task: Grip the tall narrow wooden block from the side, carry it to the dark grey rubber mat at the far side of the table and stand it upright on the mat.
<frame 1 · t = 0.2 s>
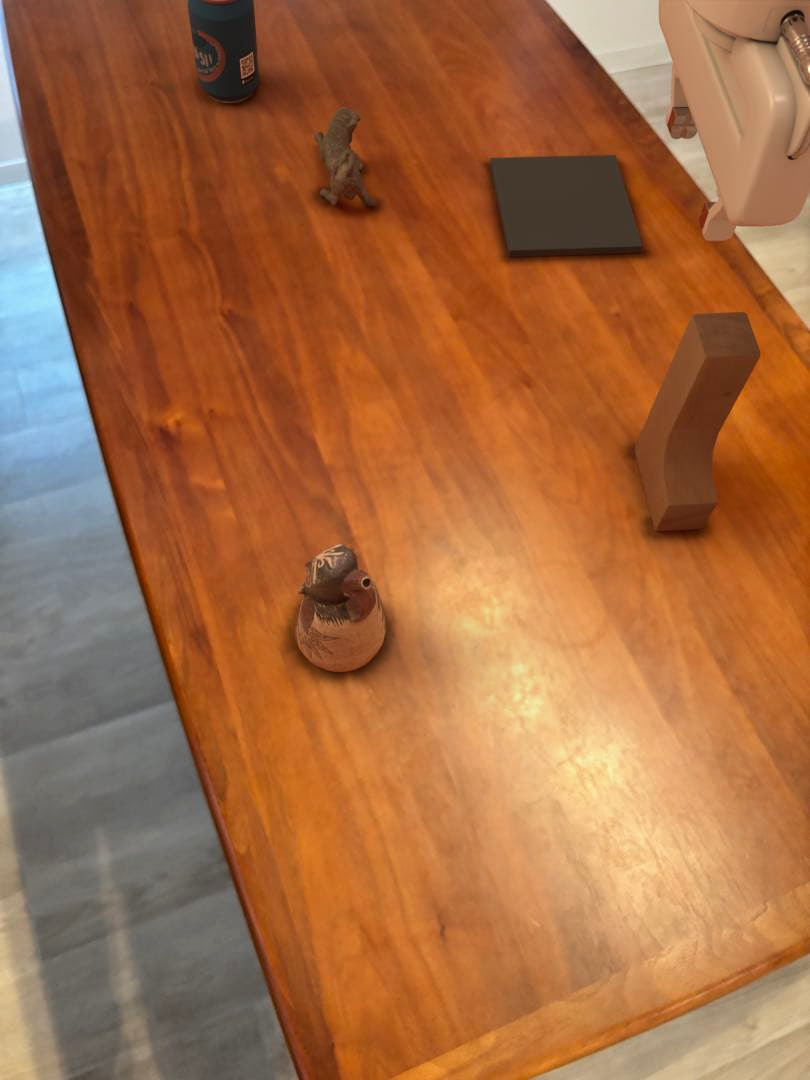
hand: (695, 180, 64), 31 cm above the table, tool pointing down, fingers open, 8 cm apart
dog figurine: (344, 182, 108), on the table
mat: (563, 208, 107), on the table
soda can: (230, 88, 115), on the table
wooden block: (666, 490, 90), on the table
figurine: (341, 634, 81), on the table
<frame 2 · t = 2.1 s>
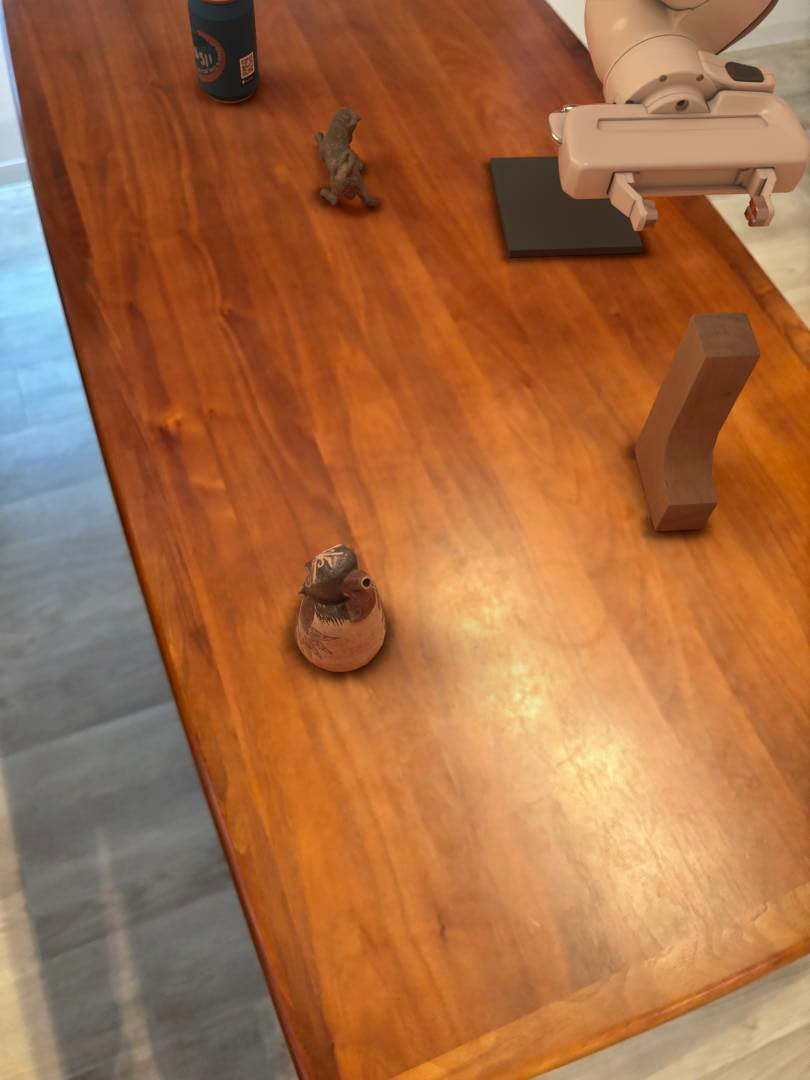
hand: (705, 222, 78), 20 cm above the table, tool horizontal, fingers open, 8 cm apart
nothing on the table moved.
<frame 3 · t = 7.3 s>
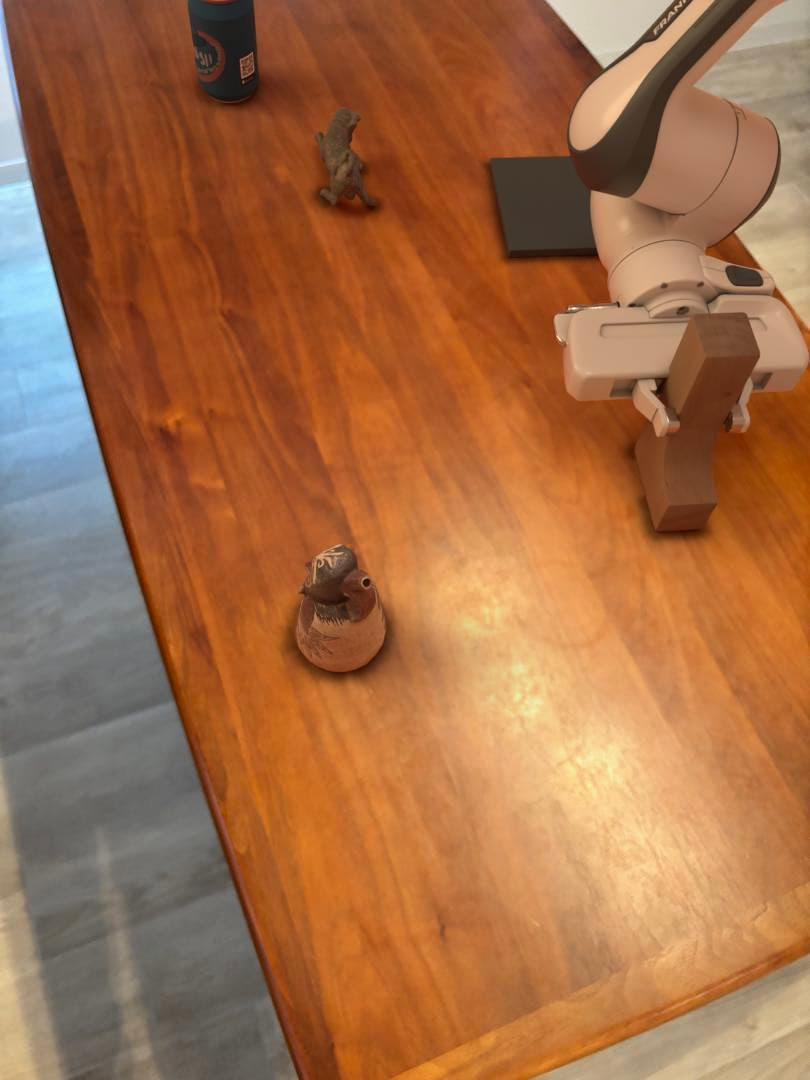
hand: (704, 430, 81), 10 cm above the table, tool horizontal, fingers closed on wooden block, 4 cm apart
wooden block: (666, 490, 90), on the table, touching gripper
everything else where it was.
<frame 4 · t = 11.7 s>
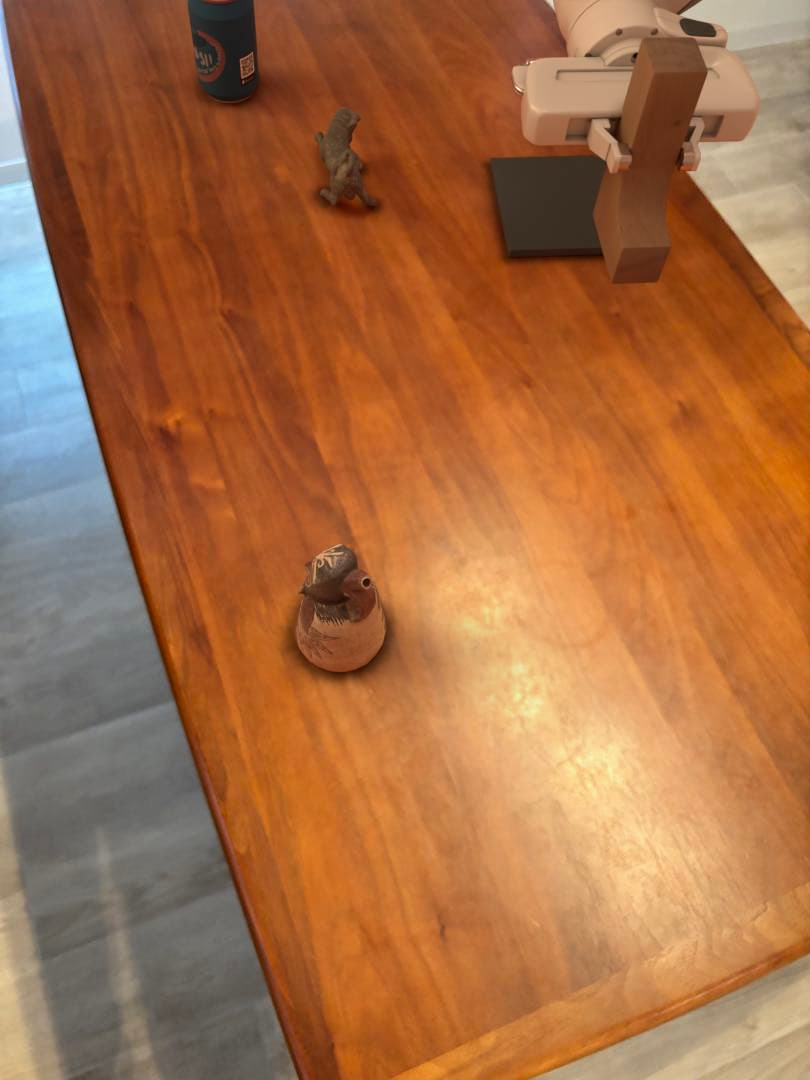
hand: (656, 166, 83), 19 cm above the table, tool horizontal, fingers closed on wooden block, 4 cm apart
wooden block: (623, 250, 92), point 9 cm above the table, touching gripper
everything else where it was.
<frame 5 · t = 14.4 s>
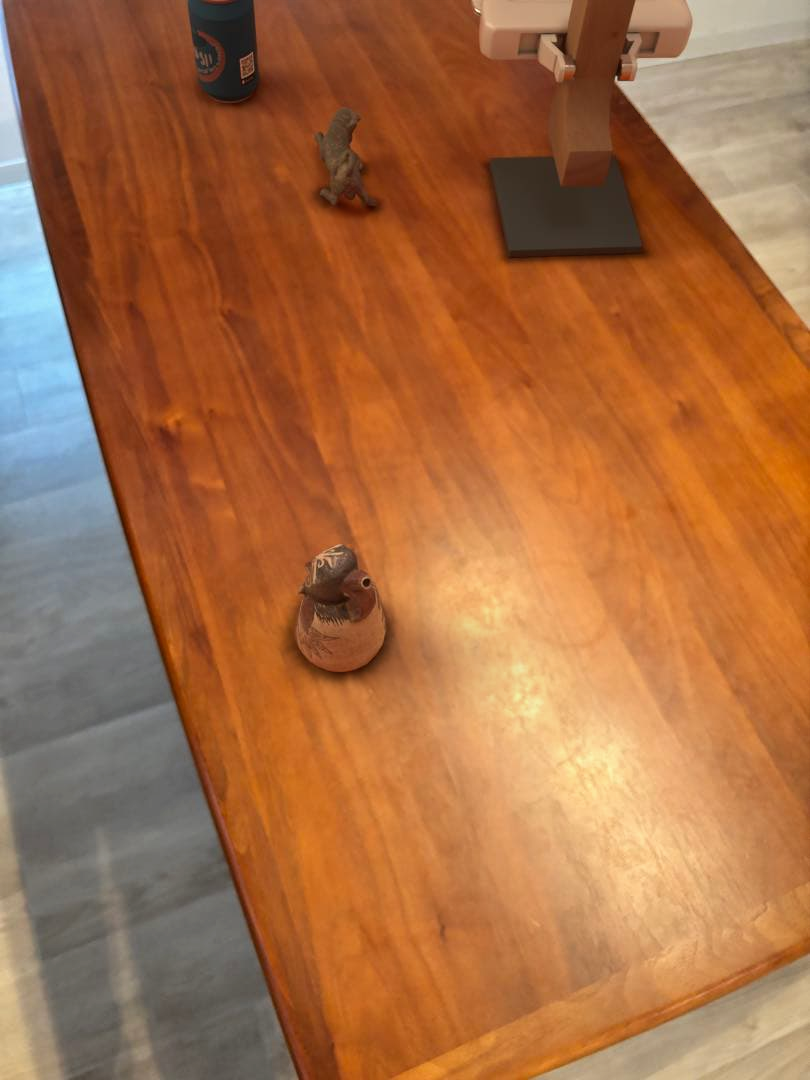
hand: (598, 75, 93), 16 cm above the table, tool horizontal, fingers closed on wooden block, 4 cm apart
wooden block: (573, 159, 102), point 6 cm above the table, touching gripper
everything else where it was.
when the fingers open (11 cm above the table, at t = 16.4 s): wooden block stays where it is, resting on mat.
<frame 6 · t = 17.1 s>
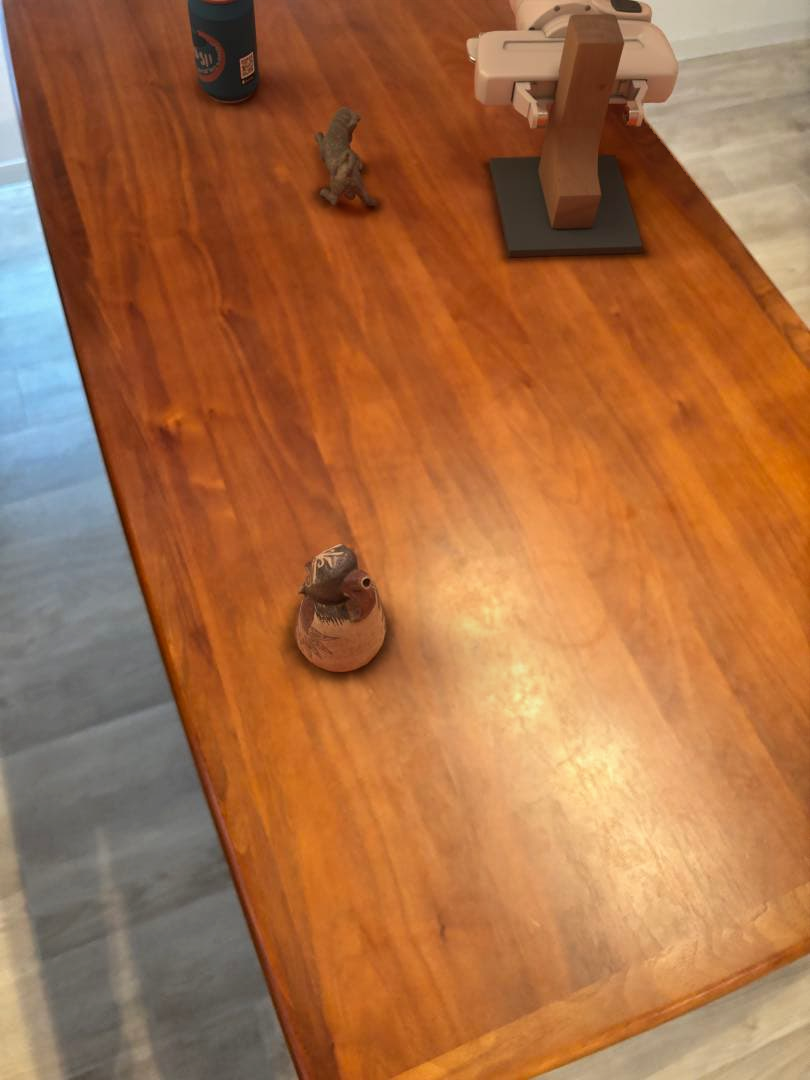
hand: (587, 121, 97), 11 cm above the table, tool horizontal, fingers open, 8 cm apart
wooden block: (564, 201, 107), point 1 cm above the table, touching mat
everything else where it was.
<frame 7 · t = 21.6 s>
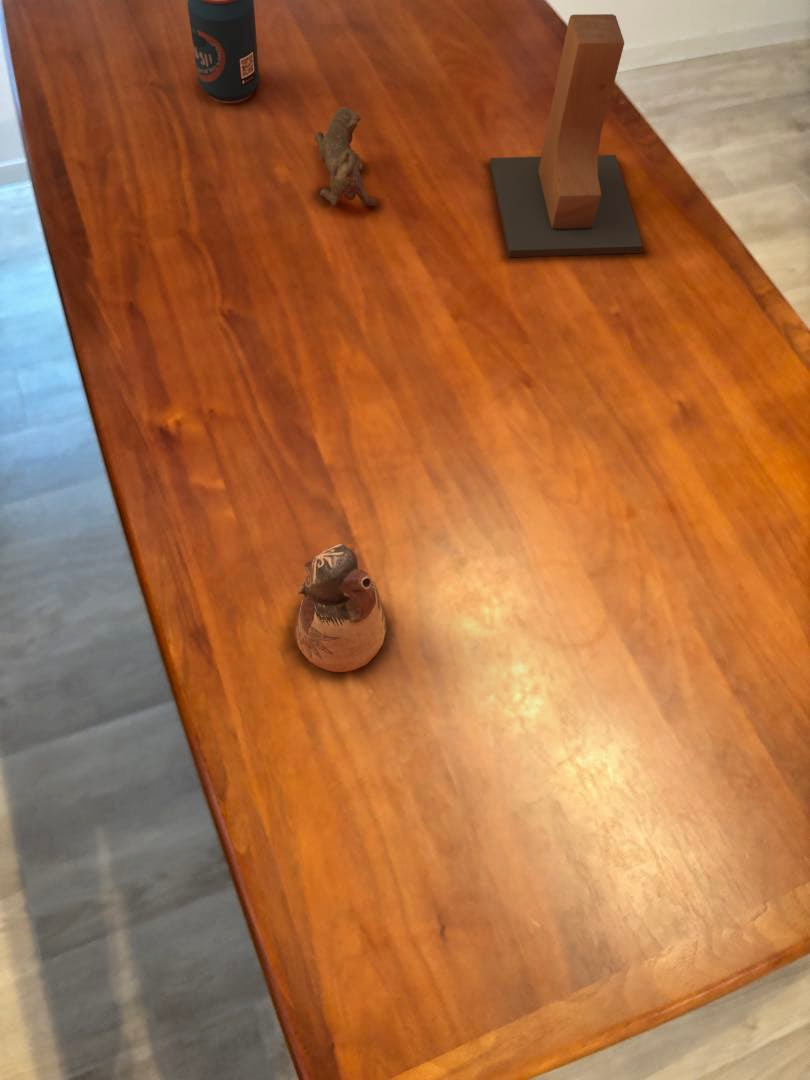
nothing on the table moved.
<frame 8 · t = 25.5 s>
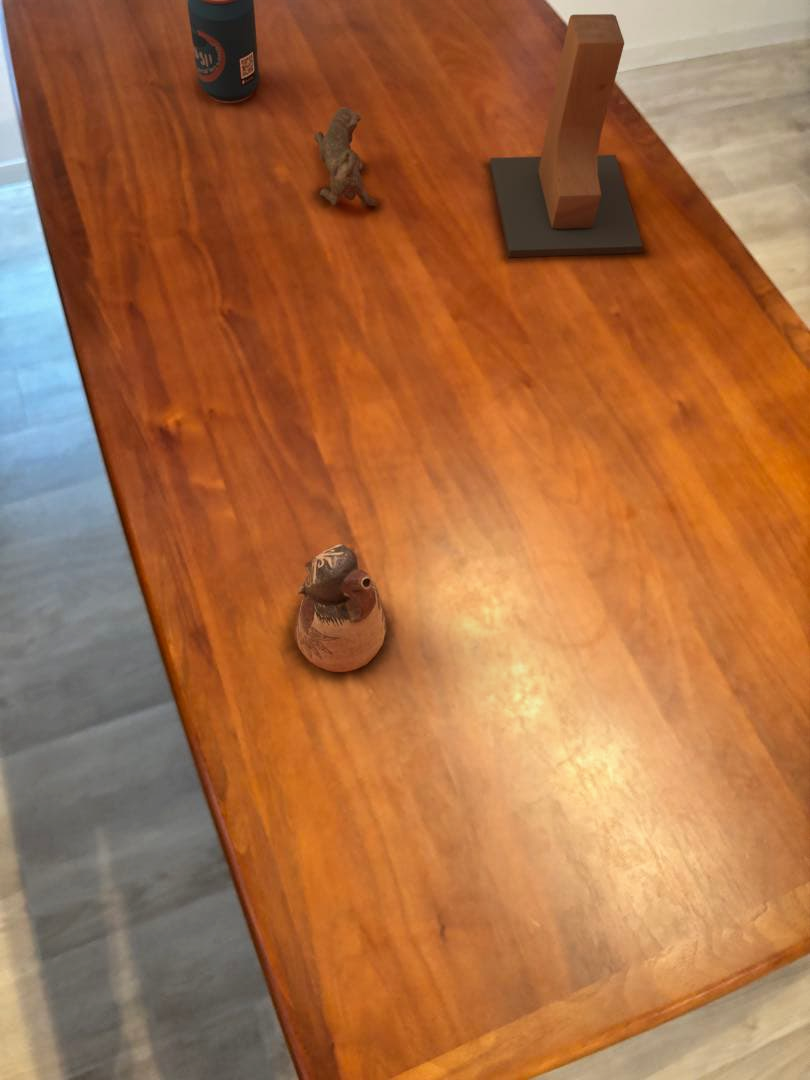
nothing on the table moved.
at the end: wooden block inside the target area on the mat (0.1 cm from its centre), point 0.8 cm above the mat's base; wooden block tilted 0°; the gripper is holding nothing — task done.
